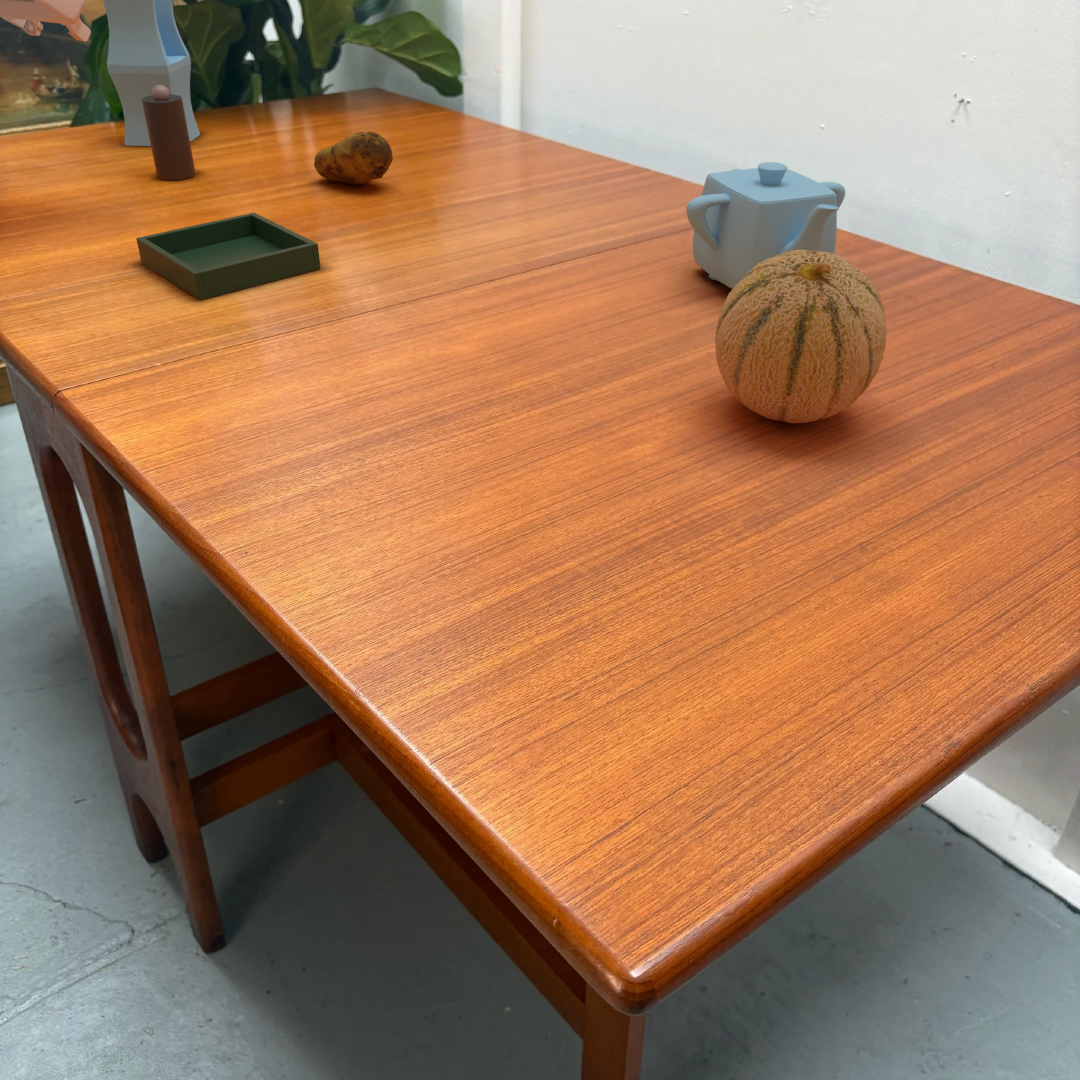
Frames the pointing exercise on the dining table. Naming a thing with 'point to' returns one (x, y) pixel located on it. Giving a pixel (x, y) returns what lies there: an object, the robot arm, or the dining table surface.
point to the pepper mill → (168, 135)
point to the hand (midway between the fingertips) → (61, 33)
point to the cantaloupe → (801, 336)
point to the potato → (355, 159)
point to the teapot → (760, 218)
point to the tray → (228, 255)
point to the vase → (146, 61)
